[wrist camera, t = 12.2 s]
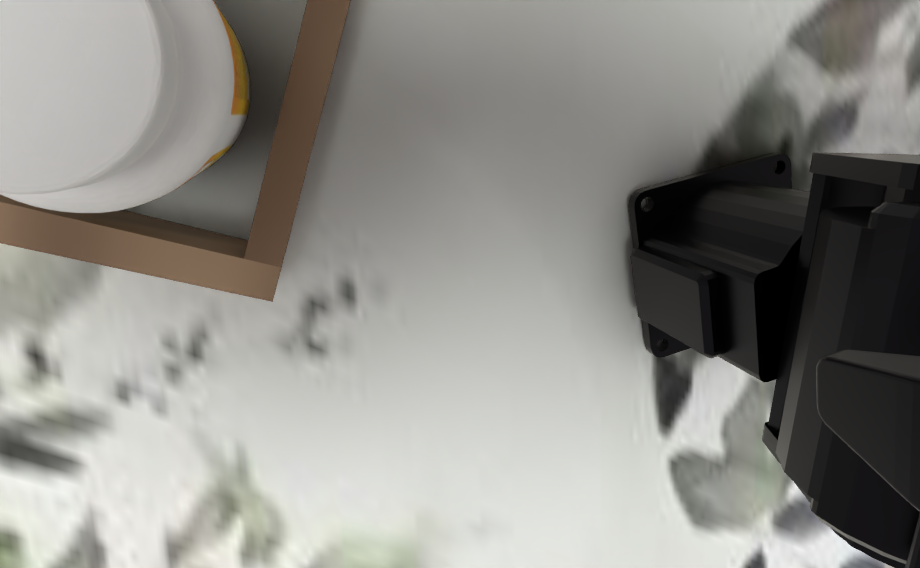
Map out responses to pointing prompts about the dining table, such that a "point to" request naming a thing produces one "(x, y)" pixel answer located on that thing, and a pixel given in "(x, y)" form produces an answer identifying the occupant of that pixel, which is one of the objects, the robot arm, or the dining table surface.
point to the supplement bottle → (114, 99)
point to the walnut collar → (196, 250)
